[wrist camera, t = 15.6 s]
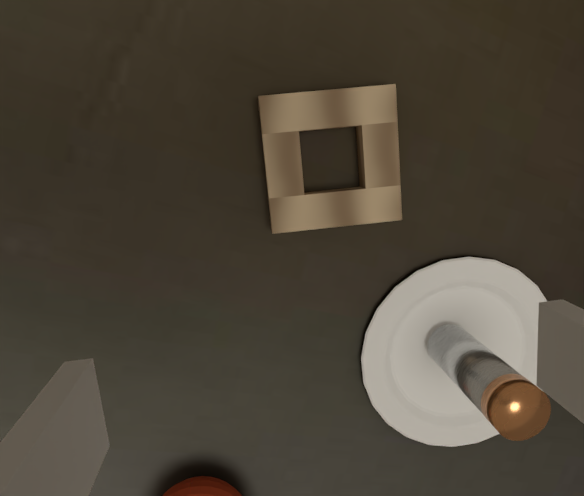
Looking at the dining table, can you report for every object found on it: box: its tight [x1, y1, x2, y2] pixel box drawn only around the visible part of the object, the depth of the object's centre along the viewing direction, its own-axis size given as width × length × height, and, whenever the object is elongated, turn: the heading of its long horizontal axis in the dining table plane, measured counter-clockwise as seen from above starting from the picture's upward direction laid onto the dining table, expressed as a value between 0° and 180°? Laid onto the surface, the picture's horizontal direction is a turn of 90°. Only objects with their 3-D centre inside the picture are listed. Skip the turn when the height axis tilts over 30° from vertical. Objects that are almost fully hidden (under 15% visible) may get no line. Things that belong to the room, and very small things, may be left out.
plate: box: [361, 256, 547, 447], centre depth 50 cm, size 21×21×2 cm
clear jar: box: [427, 324, 551, 441], centre depth 42 cm, size 4×4×13 cm
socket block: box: [258, 84, 402, 234], centre depth 44 cm, size 12×12×2 cm
